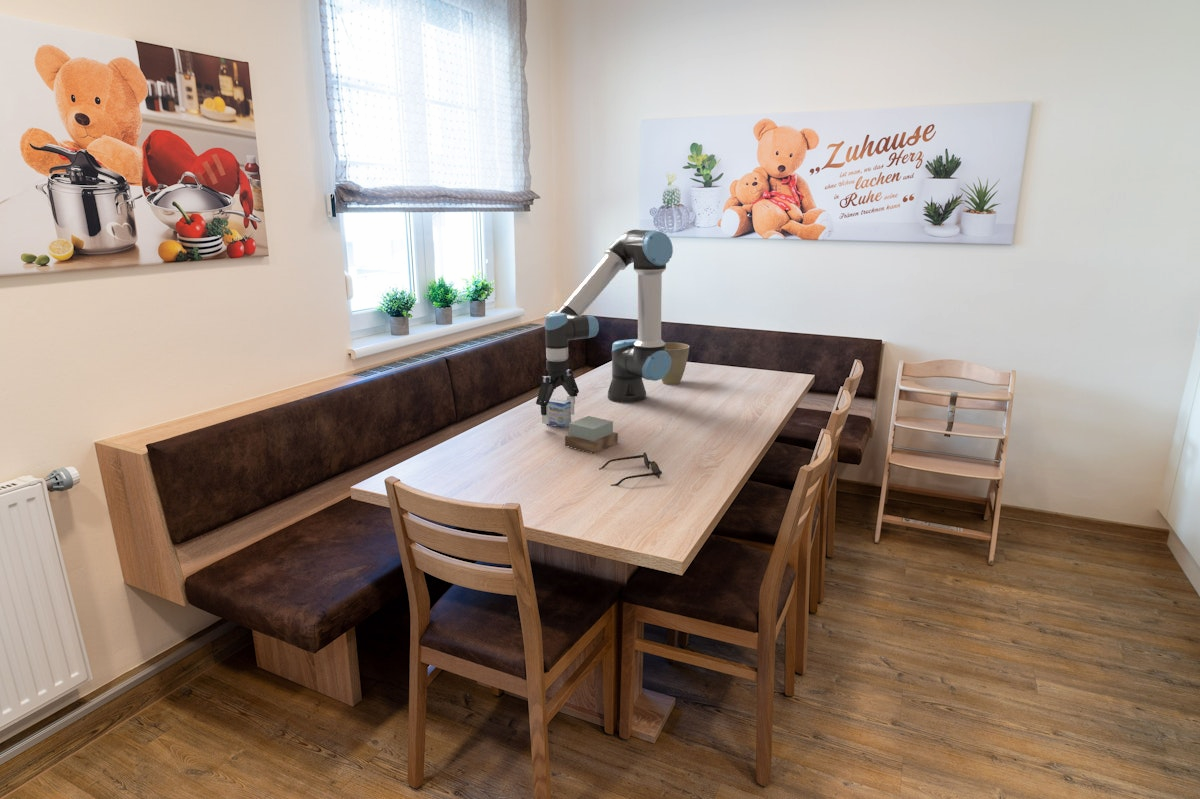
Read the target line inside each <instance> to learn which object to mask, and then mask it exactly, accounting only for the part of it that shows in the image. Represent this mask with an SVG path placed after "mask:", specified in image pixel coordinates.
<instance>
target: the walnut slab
mask: <svg viewBox="0 0 1200 799" xmlns="http://www.w3.org/2000/svg"><path fill="white" fill-rule="evenodd" d="M618 435H619V434H618V432H615V431H613V433H612V434H610V435H608V436H605V437H603V438H601V439H598V440H596V441H590V440H586V439H582V438H578V437H574V436H570V435H569V434H567V435H565V436H564V440H565V441H564V445H565V447H566V446H569V447H568V448H570V447H572V448H571V449H574V448H576V449H575V450H578V449H580V450H579V451H582V450H584V451H583V452H586V451H587V452H586V453H590V452H592V453H591V454H594V453H596V454H598V453H600V452H602V450H603V451H604V449H605V450H607V449H608V447H609V448H611V447H613V446H615V445H618V444H619V440H618V438H619V436H618ZM617 443H618V444H617ZM612 445H613V446H612ZM606 448H607V449H606ZM597 452H598V453H597Z"/></svg>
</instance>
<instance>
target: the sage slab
mask: <svg viewBox="0 0 1200 799" xmlns="http://www.w3.org/2000/svg"><path fill="white" fill-rule="evenodd" d="M613 432H614V421H613V420H608V419H604V418H601V417H600V418H599V417H596V416H590V415H588V416H584V417H581V418H579V419H576V420H575V421H571V423H569V426H568V435H570V436H574V437H578V438H582V439H586V440H590V441H596V440H598V439H601V438H603V437H605V436H608V435H610V434H612V433H613Z"/></svg>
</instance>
